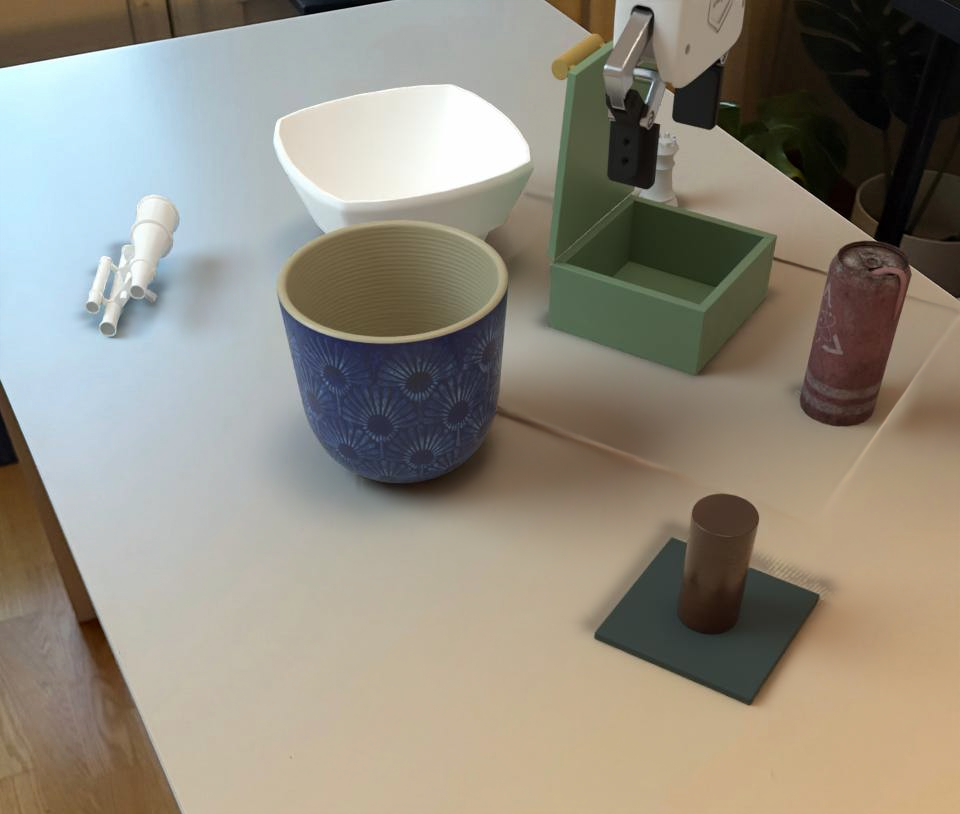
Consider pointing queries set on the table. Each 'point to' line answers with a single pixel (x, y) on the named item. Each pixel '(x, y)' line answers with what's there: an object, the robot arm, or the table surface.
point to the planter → (396, 344)
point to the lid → (584, 145)
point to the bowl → (405, 159)
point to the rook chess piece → (663, 172)
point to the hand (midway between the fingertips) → (663, 152)
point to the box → (661, 282)
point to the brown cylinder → (717, 562)
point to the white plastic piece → (135, 261)
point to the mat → (708, 657)
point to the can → (855, 332)
